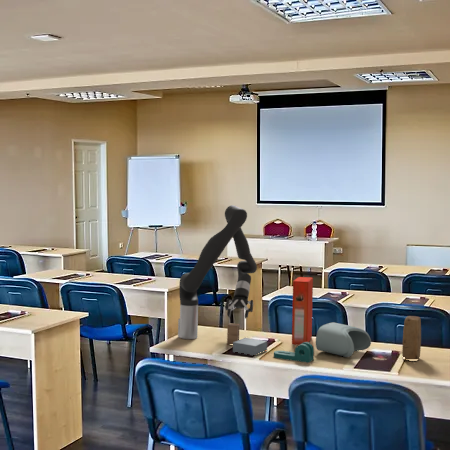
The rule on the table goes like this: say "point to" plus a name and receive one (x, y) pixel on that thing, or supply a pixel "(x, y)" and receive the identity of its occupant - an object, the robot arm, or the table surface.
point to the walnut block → (232, 333)
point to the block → (412, 337)
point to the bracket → (298, 353)
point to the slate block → (249, 346)
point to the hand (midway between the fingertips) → (237, 317)
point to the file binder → (302, 310)
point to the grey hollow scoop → (341, 339)
